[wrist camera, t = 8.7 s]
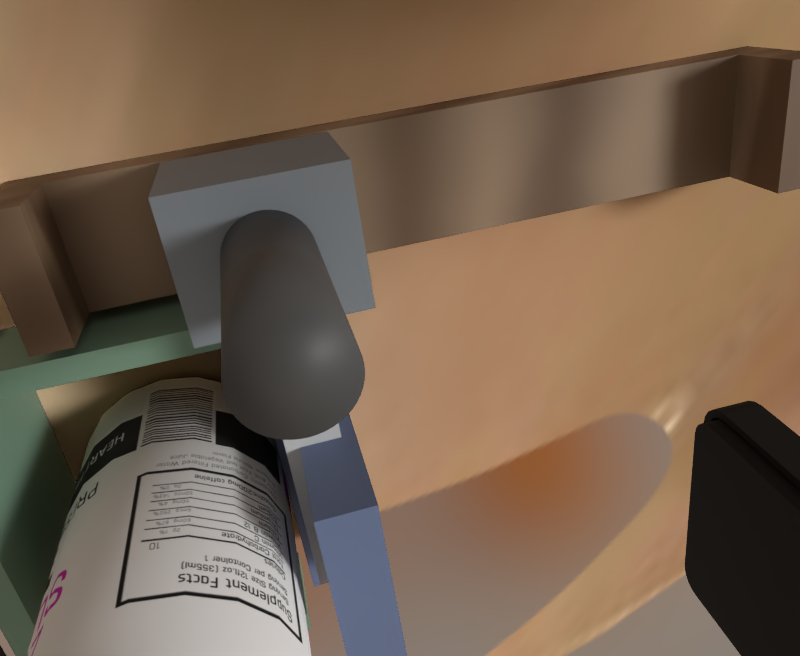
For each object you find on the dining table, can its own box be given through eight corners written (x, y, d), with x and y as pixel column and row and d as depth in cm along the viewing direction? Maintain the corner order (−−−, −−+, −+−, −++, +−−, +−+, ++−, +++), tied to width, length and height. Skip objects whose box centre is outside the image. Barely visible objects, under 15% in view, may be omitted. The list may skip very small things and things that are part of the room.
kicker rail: (747, 46, 30) (828, 53, 26) (737, 162, 32) (811, 186, 28) (7, 181, 25) (-32, 215, 21) (56, 305, 28) (29, 357, 24)
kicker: (322, 125, 27) (416, 238, 14) (393, 515, 36) (491, 801, 23) (163, 154, 26) (110, 304, 13) (276, 546, 35) (310, 863, 22)
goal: (224, 282, 29) (226, 374, 22) (302, 567, 36) (322, 705, 29) (-19, 333, 27) (-101, 450, 20) (112, 619, 35) (85, 778, 28)
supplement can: (306, 480, 34) (362, 789, 21) (143, 547, 33) (94, 908, 20) (238, 341, 30) (253, 611, 17) (52, 414, 29) (-82, 752, 16)
